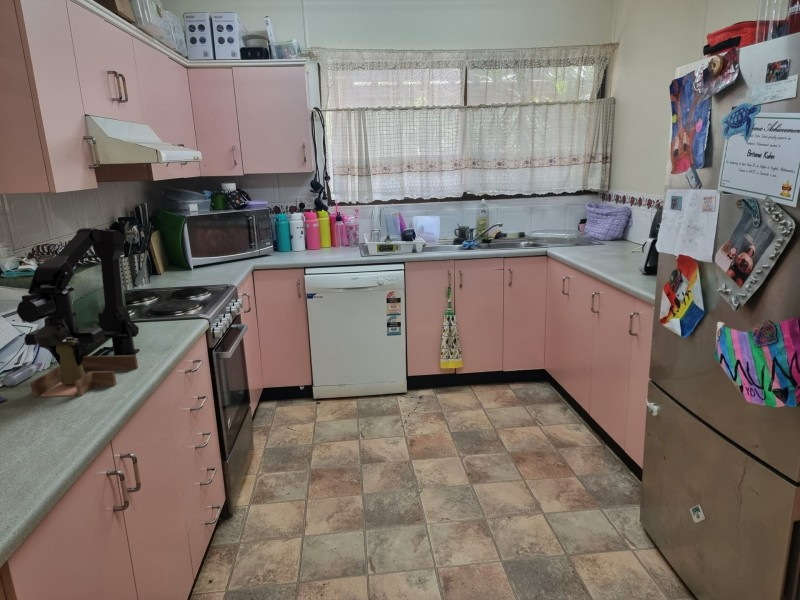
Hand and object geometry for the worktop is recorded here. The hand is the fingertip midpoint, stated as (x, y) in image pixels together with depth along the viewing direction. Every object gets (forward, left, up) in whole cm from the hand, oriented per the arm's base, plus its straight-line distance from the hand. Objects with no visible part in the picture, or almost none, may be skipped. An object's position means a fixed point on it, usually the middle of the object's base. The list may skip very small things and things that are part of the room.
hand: (70, 365), depth 144 cm
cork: (0, 0, -4) cm, 4 cm away
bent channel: (-2, +3, -6) cm, 7 cm away
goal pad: (+3, 0, -6) cm, 6 cm away
